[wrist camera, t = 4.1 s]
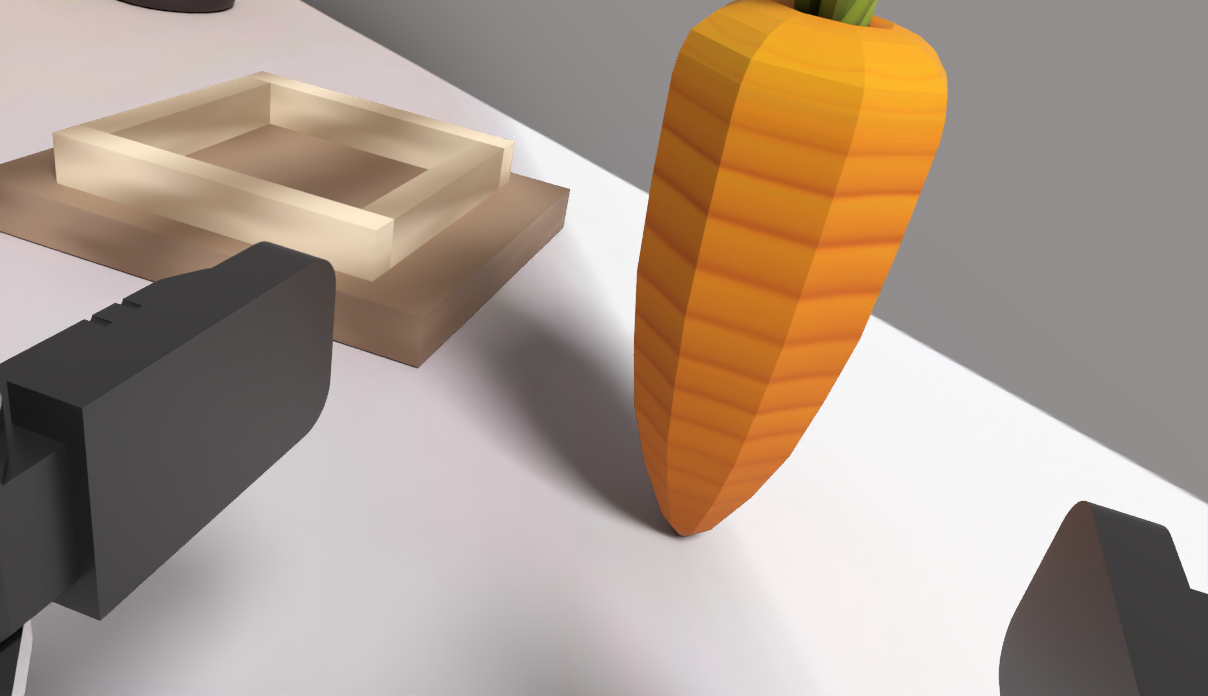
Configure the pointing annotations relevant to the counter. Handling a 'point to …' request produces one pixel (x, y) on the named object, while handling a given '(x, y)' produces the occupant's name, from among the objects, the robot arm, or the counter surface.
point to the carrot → (770, 234)
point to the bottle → (185, 5)
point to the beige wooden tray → (295, 201)
